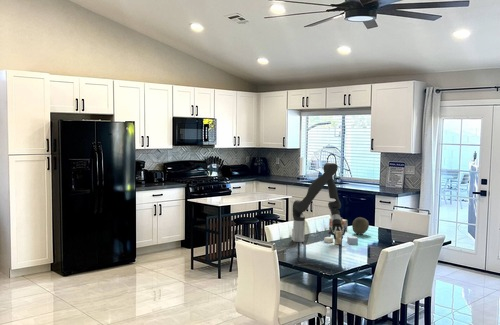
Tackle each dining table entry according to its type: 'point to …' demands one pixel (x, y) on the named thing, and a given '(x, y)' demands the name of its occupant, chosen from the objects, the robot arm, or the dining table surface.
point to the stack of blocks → (343, 222)
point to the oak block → (338, 237)
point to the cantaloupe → (360, 225)
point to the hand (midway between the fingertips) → (338, 238)
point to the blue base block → (352, 239)
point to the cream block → (328, 239)
